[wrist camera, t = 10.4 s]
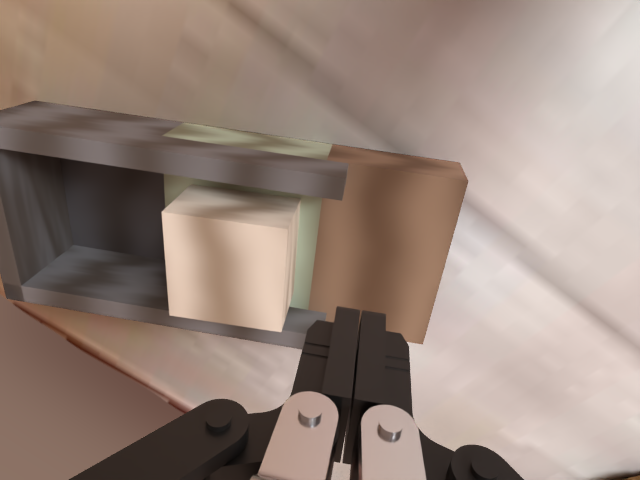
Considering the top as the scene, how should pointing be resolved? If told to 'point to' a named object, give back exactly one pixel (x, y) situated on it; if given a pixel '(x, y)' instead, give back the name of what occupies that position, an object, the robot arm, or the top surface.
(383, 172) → the lane
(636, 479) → the sponge
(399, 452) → the robot arm
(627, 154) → the top surface
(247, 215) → the block
